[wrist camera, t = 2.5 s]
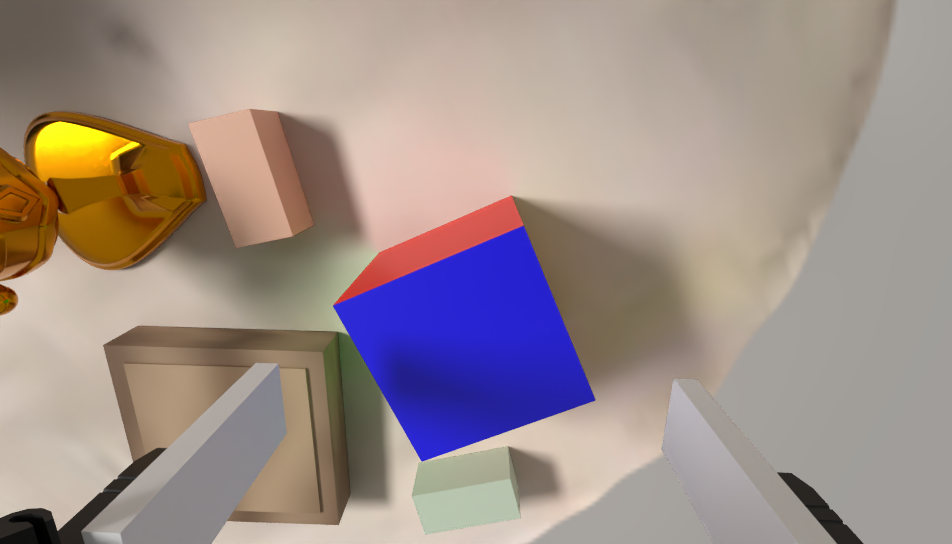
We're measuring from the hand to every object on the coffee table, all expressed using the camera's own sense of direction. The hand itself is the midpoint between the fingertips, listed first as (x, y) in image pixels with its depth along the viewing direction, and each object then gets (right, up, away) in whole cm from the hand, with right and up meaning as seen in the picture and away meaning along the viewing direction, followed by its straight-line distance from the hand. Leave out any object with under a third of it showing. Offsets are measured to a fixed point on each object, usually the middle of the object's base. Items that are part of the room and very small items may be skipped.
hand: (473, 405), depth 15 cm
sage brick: (0, -9, +15) cm, 17 cm away
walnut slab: (-14, -5, +13) cm, 20 cm away
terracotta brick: (-11, +10, +9) cm, 17 cm away
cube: (0, +4, +11) cm, 11 cm away
